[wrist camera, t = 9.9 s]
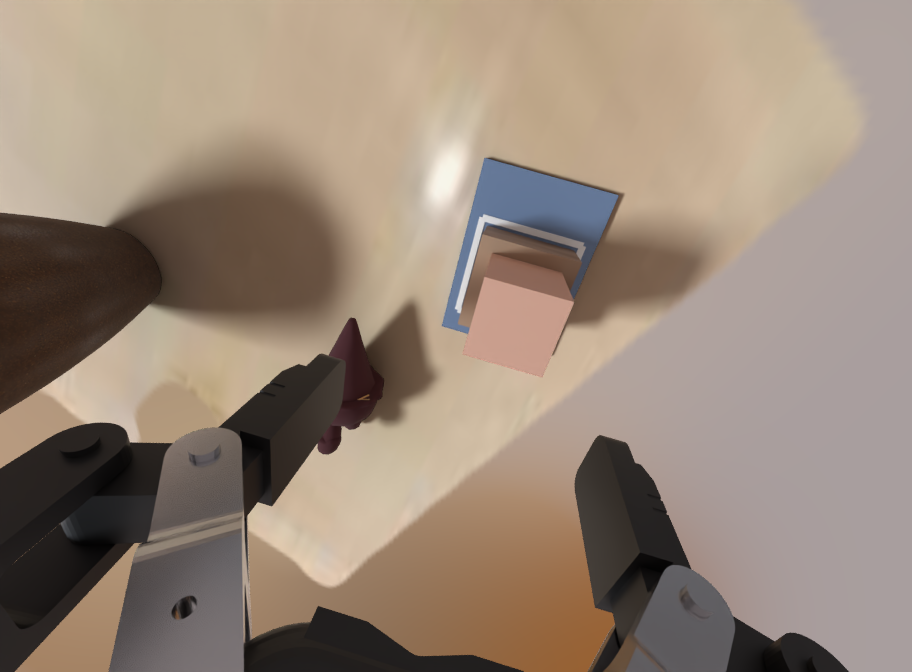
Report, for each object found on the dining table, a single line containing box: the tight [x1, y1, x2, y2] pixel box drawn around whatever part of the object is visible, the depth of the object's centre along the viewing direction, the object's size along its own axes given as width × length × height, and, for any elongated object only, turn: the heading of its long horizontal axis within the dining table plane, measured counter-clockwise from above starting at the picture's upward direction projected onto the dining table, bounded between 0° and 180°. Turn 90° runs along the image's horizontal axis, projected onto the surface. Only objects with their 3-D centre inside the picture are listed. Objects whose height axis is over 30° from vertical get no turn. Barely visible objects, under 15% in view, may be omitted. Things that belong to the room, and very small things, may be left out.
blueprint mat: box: [442, 158, 619, 334], centre depth 29 cm, size 14×10×1 cm
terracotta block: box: [463, 253, 574, 377], centre depth 23 cm, size 5×5×6 cm
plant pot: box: [0, 213, 161, 414], centre depth 28 cm, size 15×15×16 cm
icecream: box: [318, 318, 384, 454], centre depth 33 cm, size 7×7×15 cm
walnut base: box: [458, 226, 582, 328], centre depth 27 cm, size 7×7×4 cm
